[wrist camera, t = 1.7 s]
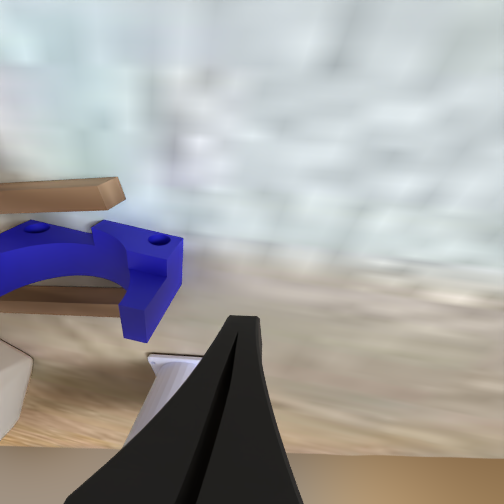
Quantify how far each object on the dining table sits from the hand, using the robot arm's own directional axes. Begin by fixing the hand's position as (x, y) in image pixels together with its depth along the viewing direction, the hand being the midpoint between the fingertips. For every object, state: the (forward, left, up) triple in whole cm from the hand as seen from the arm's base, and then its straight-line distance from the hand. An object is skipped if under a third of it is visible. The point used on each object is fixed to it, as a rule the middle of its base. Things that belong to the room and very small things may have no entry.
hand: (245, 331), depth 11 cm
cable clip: (0, +12, -8) cm, 14 cm away
